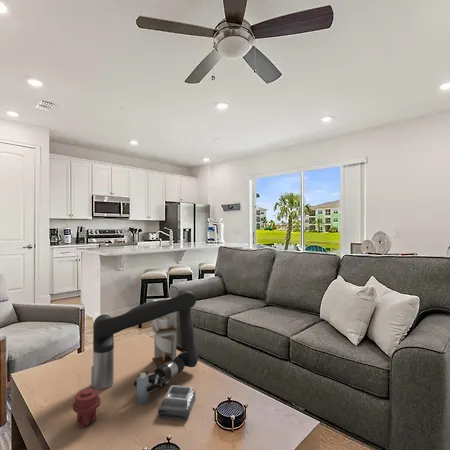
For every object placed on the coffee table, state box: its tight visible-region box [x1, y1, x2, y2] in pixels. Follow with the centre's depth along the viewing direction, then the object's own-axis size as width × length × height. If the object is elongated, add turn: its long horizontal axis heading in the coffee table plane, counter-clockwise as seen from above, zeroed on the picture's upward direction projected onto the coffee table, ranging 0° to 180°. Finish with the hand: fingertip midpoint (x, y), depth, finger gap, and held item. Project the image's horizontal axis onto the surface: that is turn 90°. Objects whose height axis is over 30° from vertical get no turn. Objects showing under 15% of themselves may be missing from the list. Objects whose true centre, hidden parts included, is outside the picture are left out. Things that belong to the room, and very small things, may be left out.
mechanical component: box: [72, 388, 101, 428], centre depth 121 cm, size 12×10×10 cm
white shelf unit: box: [151, 297, 178, 369], centre depth 170 cm, size 11×11×35 cm
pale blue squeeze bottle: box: [136, 372, 149, 405], centre depth 136 cm, size 5×5×12 cm
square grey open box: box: [157, 384, 196, 421], centre depth 130 cm, size 12×14×6 cm
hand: (140, 387), depth 135 cm, fingers open, 8 cm apart
